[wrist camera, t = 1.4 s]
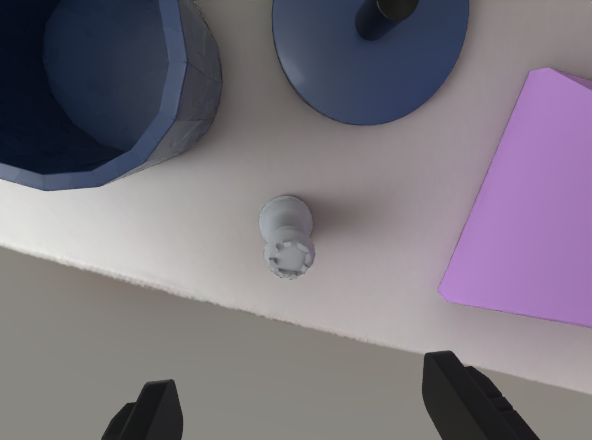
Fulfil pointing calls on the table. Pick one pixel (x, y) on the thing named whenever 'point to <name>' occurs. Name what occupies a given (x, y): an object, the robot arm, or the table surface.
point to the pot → (101, 88)
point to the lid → (368, 53)
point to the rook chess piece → (287, 236)
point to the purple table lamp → (533, 210)
